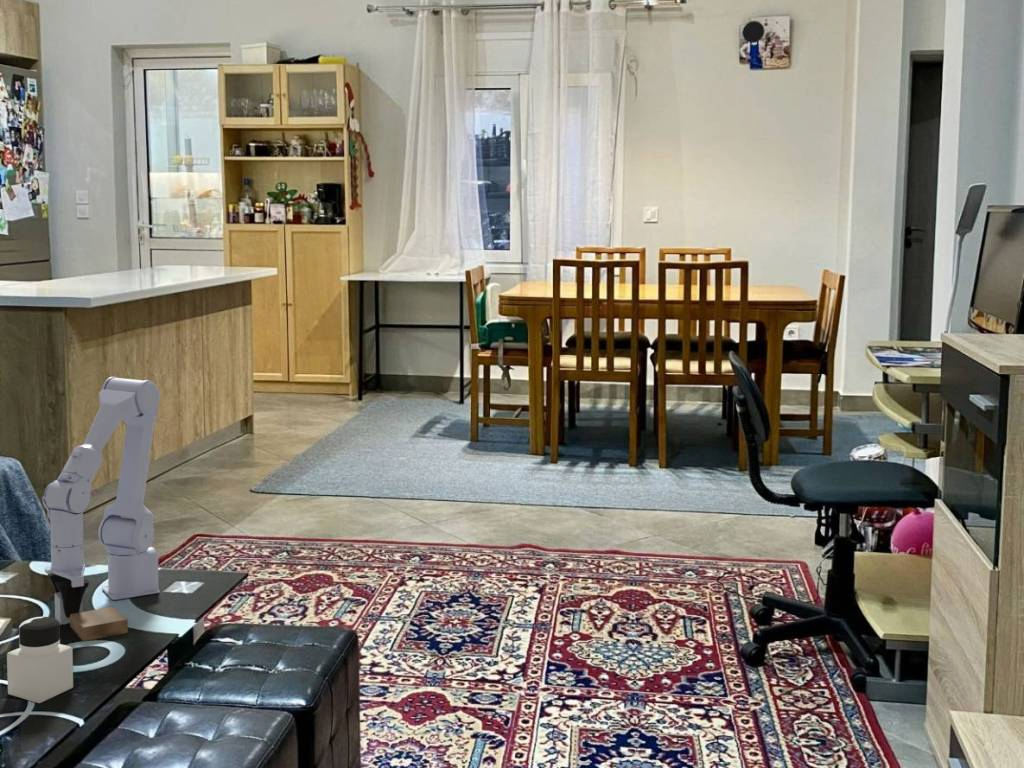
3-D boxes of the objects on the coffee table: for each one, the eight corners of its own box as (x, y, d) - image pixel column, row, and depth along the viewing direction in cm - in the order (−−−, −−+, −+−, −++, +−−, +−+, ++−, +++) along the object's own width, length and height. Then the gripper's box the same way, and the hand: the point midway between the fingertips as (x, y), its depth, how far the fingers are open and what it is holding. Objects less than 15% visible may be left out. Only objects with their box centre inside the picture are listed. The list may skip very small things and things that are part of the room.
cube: (76, 614, 214) (76, 589, 214) (82, 621, 211) (82, 595, 210) (55, 618, 212) (54, 593, 211) (60, 624, 209) (60, 599, 208)
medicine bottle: (74, 688, 182) (72, 618, 181) (39, 704, 176) (37, 632, 174) (42, 678, 185) (40, 610, 184) (6, 694, 179) (4, 623, 177)
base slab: (113, 621, 213) (113, 606, 212) (127, 634, 207) (127, 619, 206) (70, 629, 208) (70, 614, 208) (83, 643, 202) (83, 627, 201)
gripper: (35, 536, 213) (37, 604, 215) (54, 556, 201) (56, 628, 203) (73, 531, 217) (75, 598, 219) (94, 551, 205) (96, 621, 207)
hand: (68, 612), depth 211 cm, fingers closed on cube, 4 cm apart
